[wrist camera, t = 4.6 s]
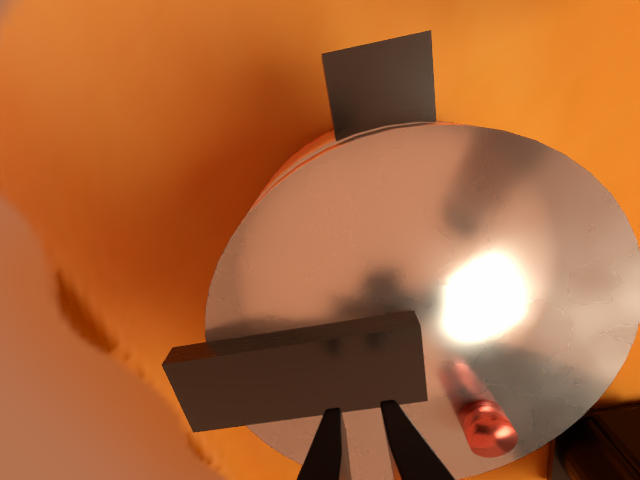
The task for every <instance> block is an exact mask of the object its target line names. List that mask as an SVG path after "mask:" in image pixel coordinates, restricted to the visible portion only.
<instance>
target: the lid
mask: <svg viewBox="0 0 640 480" xmlns="http://www.w3.org/2000/svg"><path fill="white" fill-rule="evenodd" d="M639 322H640V251H639V247H638V243H637V239H636V237H635V235H634V233H633V230H632V228H631V226H630V223H629V221H628V219H627V217H626V215H625V214H624V212H623V211H622V209H621V208H620V206H619V205H618V203H617V202H616V200H615V199H614V197H613V196H612V194H611V193H610V192H609V191H608V190H607V189H606V188H605V187H604V186H603V185H602V184H601V183H600V182H599V181H598V180H597V179H596V178H595V177H594V176H593V175H592V174H591V173H590V172H589V171H587V170H586V169H585V168H583V167H582V166H580V165H579V164H578V163H576V162H575V161H573V160H572V159H571V158H569V157H568V156H566V155H565V154H563V153H561V152H559V151H556V150H554V149H552V148H550V147H548V146H546V145H544V144H542V143H540V142H538V141H536V140H533V139H529V138H526V137H523V136H520V135H516V134H513V133H510V132H507V131H503V130H496V129H490V128H483V127H477V126H470V125H463V124H457V123H416V124H408V125H401V126H393V127H387V128H383V129H379V130H376V131H372V132H368V133H364V134H361V135H357V136H354V137H352V138H350V139H347V140H345V141H342V142H340V143H338V144H335V145H333V146H330V147H328V148H326V149H324V150H322V151H321V152H319V153H317V154H316V155H314V156H312V157H310V158H309V159H307V160H305V161H303V162H302V163H300V164H299V165H297V166H296V167H295V168H293V169H292V170H291V171H290V172H288V173H287V174H286V175H284V176H283V177H282V178H281V179H279V180H278V181H277V182H275V183H274V184H273V185H272V187H271V188H270V189H269V190H268V191H267V192H266V193H265V194H264V195H263V196H262V197H261V198H260V199H259V200H258V201H257V202H256V203H255V204H254V206H253V207H252V208H251V210H250V211H249V212H248V214H247V215H246V217H245V218H244V219H243V221H242V222H241V223H240V225H239V226H238V228H237V229H236V231H235V232H234V233H233V235H232V236H231V238H230V240H229V242H228V244H227V246H226V248H225V250H224V252H223V253H222V255H221V257H220V259H219V261H218V264H217V267H216V269H215V272H214V275H213V278H212V281H211V284H210V287H209V293H208V299H207V305H206V310H205V337H206V342H205V343H199V344H192V345H186V346H179V347H173V348H172V349H171V351H170V352H169V354H168V356H167V357H166V359H165V360H164V362H163V364H162V366H163V369H164V371H165V373H166V375H167V377H168V379H169V381H170V384H171V386H172V388H173V390H174V392H175V394H176V396H177V398H178V401H179V403H180V405H181V407H182V409H183V411H184V413H185V416H186V418H187V420H188V422H189V424H190V426H191V428H192V431H193V432H200V431H208V430H215V429H223V428H230V427H238V426H245V425H246V426H247V427H248V428H249V429H250V430H251V431H252V432H253V433H254V434H256V435H257V436H258V437H259V438H260V439H261V440H263V441H264V442H265V443H266V444H267V445H269V446H270V447H272V448H273V449H275V450H276V451H278V452H279V453H281V454H282V455H284V456H286V457H288V458H290V459H292V460H293V461H295V462H297V463H299V464H301V465H303V463H304V460H305V458H306V456H307V453H308V451H309V448H310V446H311V443H312V441H313V439H314V436H315V434H316V431H317V429H318V426H319V424H320V422H321V419H322V417H323V414H324V412H325V410H326V409H329V408H336V407H339V408H340V409H341V411H342V415H343V420H344V424H345V428H346V434H347V443H348V451H349V460H350V469H351V478H352V480H394V478H393V473H392V468H391V462H390V457H389V452H388V447H387V442H386V436H385V431H384V426H383V420H382V414H381V408H380V402H381V401H385V400H395V401H396V402H397V403H398V404H399V406H400V407H401V408H402V410H403V411H404V412H405V414H406V415H407V416H408V418H409V419H410V420H411V421H412V423H413V424H414V425H415V427H416V428H417V429H418V431H419V432H420V433H421V435H422V436H423V437H424V439H425V440H426V441H427V443H428V444H429V445H430V447H431V448H432V449H433V450H434V452H435V453H436V454H437V456H438V457H439V458H440V460H441V461H442V462H443V464H444V465H445V466H446V468H447V469H448V470H449V472H450V473H451V474H452V476H453V477H454V478H455V480H458V479H462V478H466V477H470V476H474V475H478V474H481V473H484V472H487V471H490V470H493V469H496V468H499V467H501V466H504V465H506V464H508V463H511V462H513V461H515V460H517V459H520V458H522V457H524V456H525V455H527V454H529V453H531V452H533V451H535V450H537V449H538V448H540V447H542V446H543V445H545V444H546V443H548V442H549V441H551V440H552V439H554V438H555V437H557V436H558V435H560V434H561V433H563V432H564V431H565V430H566V429H568V428H569V427H570V426H571V425H572V424H574V423H575V422H576V421H577V420H579V419H580V418H581V417H582V416H583V415H584V414H585V413H586V412H587V411H588V410H589V409H590V408H591V407H592V406H593V405H594V404H595V403H596V402H597V401H598V399H599V398H600V397H601V395H602V394H603V393H604V392H605V390H606V389H607V388H608V387H609V385H610V384H611V383H612V381H613V380H614V378H615V377H616V375H617V373H618V372H619V370H620V368H621V367H622V365H623V363H624V362H625V360H626V358H627V355H628V353H629V351H630V348H631V346H632V344H633V342H634V339H635V336H636V333H637V329H638V325H639Z"/></svg>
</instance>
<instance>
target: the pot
mask: <svg viewBox="0 0 640 480" xmlns="http://www.w3.org/2000/svg"><path fill="white" fill-rule="evenodd" d="M321 59H322V64H323V70H324V76H325V82H326V88H327V94H328V100H329V106H330V112H331V118H332V124H333V130H332V131H329V132H327V133H325V134H323V135H321V136H320V137H318V138H316V139H315V140H313V141H311V142H309V143H308V144H306V145H305V146H304V147H302V148H301V149H300V150H299V151H297V152H296V153H295V154H293V155H292V156H291V157H290V158H289V159H288V160H287V161H286V162H285V163H284V164H283V165H282V166H281V167H280V168H279V169H278V170H277V171H276V172H275V174H274V175H273V176H272V178H271V179H270V181H269V182H268V183H267V185H266V186H265V187H264V189H263V190H262V192H261V193H260V195H259V196H258V198H257V199H256V201H255V202H254V204H255V203H256V202H257V201H258V200H259V199H260V198H261V197H262V196H263V195H264V194H265V193H266V192H267V191H268V190H269V189H270V188H271V187H272V185H273V184H274V183H275V182H277V181H278V180H279V179H281V178H282V177H283V176H284V175H286V174H287V173H288V172H290V171H291V170H292V169H293V168H295V167H296V166H297V165H299V164H300V163H302V162H303V161H305V160H307V159H309V158H310V157H312V156H314V155H316V154H317V153H319V152H321V151H322V150H324V149H326V148H328V147H330V146H333V145H335V144H338V143H340V142H342V141H345V140H347V139H350V138H352V137H354V136H357V135H361V134H364V133H368V132H372V131H376V130H379V129H383V128H387V127H393V126H401V125H408V124H416V123H450V122H443V121H436V109H435V92H434V74H433V57H432V40H431V30H430V31H425V32H421V33H416V34H411V35H407V36H402V37H398V38H393V39H388V40H384V41H379V42H375V43H370V44H365V45H361V46H356V47H351V48H347V49H342V50H338V51H333V52H328V53H324V54H322V58H321ZM254 204H253V205H252V207H253V206H254ZM252 207H251V208H252ZM251 208H250V210H251ZM250 210H249V211H250ZM249 211H248V212H249ZM247 214H248V213H247ZM247 214H246V215H247ZM245 217H246V216H245ZM245 217H244V218H245ZM242 221H243V220H242Z"/></svg>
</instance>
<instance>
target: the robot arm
mask: <svg viewBox="0 0 640 480" xmlns="http://www.w3.org/2000/svg"><path fill="white" fill-rule="evenodd" d="M380 408H381V414H382V420H383V426H384V431H385V436H386V442H387V447H388V452H389V457H390V462H391V468H392V473H393V478H394V480H455V478H454V477H453V476H452V474H451V473H450V472H449V470H448V469H447V468H446V466H445V465H444V464H443V462H442V461H441V460H440V458H439V457H438V456H437V454H436V453H435V452H434V450H433V449H432V448H431V447H430V445H429V444H428V443H427V441H426V440H425V439H424V437H423V436H422V435H421V433H420V432H419V431H418V429H417V428H416V427H415V425H414V424H413V423H412V421H411V420H410V419H409V418H408V416H407V415H406V414H405V412H404V411H403V410H402V408H401V407H400V406H399V404H398V403H397V402H396V401H395V400H385V401H381V402H380ZM297 480H352V478H351V469H350V460H349V451H348V443H347V434H346V428H345V424H344V420H343V415H342V411H341V409H340V408H339V407H336V408H329V409H326V410H325V412H324V414H323V417H322V419H321V422H320V424H319V426H318V429H317V431H316V434H315V436H314V439H313V441H312V443H311V446H310V448H309V451H308V453H307V456H306V458H305V460H304V463H303V465H302V468H301V470H300V473H299V475H298V478H297ZM547 480H640V404H633V405H626V406H618V407H610V408H603V409H595V410H588V411H587V412H586V413H585V414H584V415H583V416H582V417H581V418H580V419H579V420H577V421H576V422H575V423H574V424H572V425H571V426H570V427H569V428H568V429H566V430H565V431H564V432H563V433H561V434H560V435H558V436H557V437H555V438H554V439H552V440H551V443H550V453H549V464H548V474H547Z"/></svg>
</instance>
